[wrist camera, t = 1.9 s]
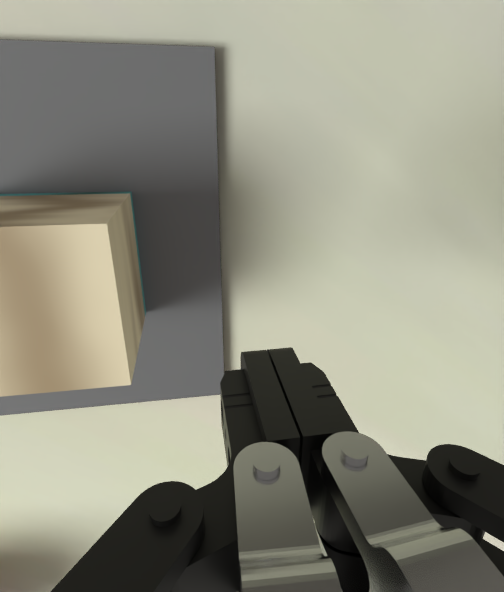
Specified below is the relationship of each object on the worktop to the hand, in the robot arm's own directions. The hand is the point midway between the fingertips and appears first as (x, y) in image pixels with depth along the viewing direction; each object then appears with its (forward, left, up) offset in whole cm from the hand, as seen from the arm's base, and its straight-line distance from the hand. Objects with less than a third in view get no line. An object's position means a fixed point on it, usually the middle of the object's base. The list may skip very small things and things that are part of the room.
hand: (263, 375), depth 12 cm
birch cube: (+8, 0, -12) cm, 14 cm away
